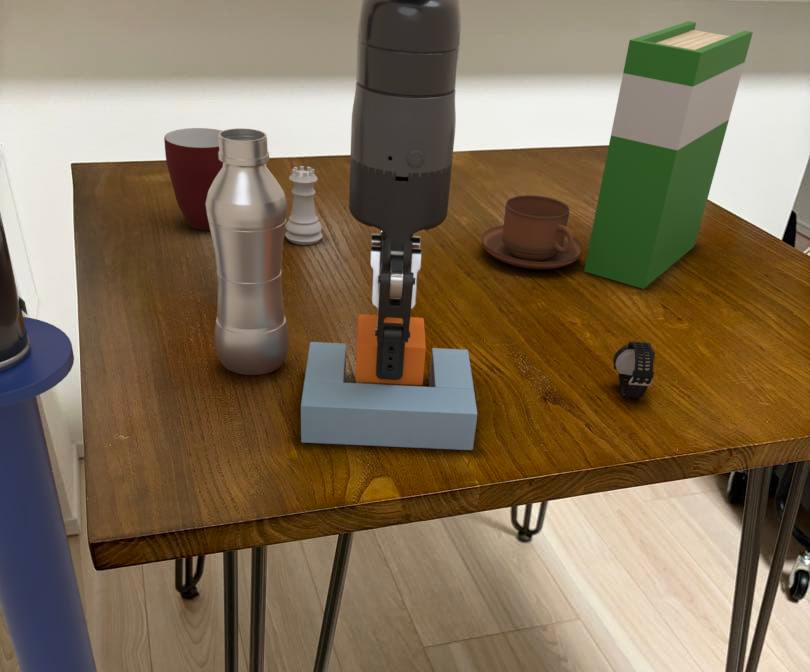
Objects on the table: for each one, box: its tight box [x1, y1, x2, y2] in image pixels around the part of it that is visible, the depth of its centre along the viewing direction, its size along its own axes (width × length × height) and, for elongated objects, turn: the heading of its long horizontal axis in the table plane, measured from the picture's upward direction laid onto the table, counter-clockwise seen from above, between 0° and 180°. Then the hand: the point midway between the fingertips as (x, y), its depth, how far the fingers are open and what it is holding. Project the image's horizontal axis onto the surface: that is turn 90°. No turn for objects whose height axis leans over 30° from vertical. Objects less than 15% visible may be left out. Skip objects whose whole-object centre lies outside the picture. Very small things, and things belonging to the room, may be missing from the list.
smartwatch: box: [612, 341, 656, 399], centre depth 81 cm, size 4×5×5 cm
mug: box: [163, 127, 223, 231], centre depth 106 cm, size 11×8×10 cm
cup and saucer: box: [481, 194, 584, 270], centre depth 105 cm, size 12×12×6 cm
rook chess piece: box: [284, 165, 323, 246], centre depth 104 cm, size 4×4×8 cm
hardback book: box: [583, 21, 754, 290], centre depth 102 cm, size 18×7×24 cm, turn 147°
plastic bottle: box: [206, 127, 290, 376], centre depth 76 cm, size 6×7×20 cm
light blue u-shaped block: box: [300, 341, 478, 451], centre depth 76 cm, size 14×11×4 cm
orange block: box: [355, 313, 427, 386], centre depth 76 cm, size 6×6×4 cm
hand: (388, 359), depth 76 cm, fingers closed on orange block, 5 cm apart
